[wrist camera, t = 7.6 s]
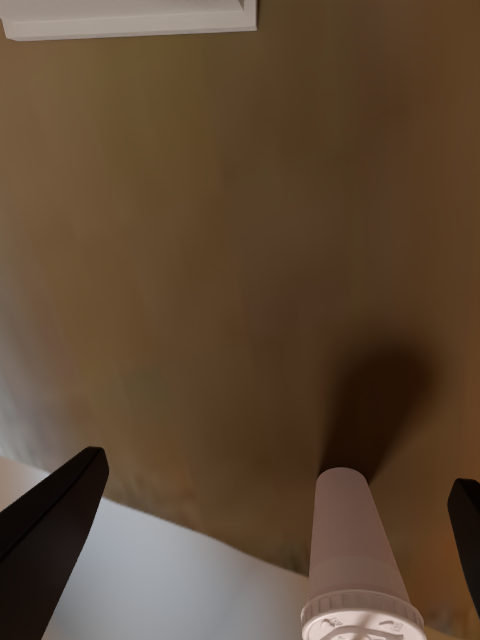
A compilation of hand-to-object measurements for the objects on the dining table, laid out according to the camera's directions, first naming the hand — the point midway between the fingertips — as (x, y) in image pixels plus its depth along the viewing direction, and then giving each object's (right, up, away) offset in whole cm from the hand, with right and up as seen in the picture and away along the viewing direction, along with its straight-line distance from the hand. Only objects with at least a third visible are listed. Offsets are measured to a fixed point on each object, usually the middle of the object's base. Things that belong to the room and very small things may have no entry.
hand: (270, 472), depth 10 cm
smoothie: (+7, -8, +18) cm, 21 cm away
